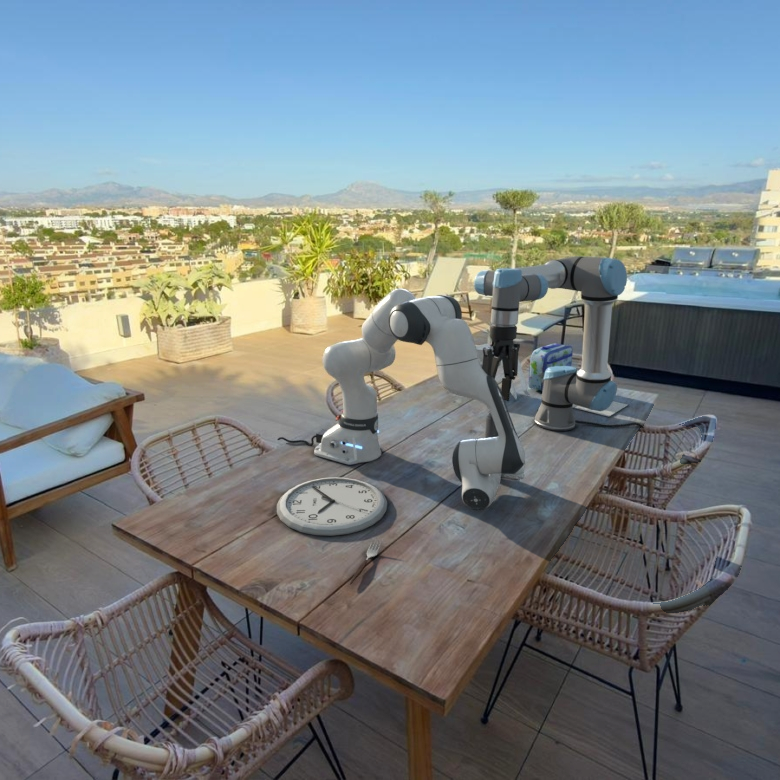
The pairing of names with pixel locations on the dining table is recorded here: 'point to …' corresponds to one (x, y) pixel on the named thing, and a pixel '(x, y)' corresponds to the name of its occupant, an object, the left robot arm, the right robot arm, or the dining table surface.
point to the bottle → (490, 427)
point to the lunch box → (547, 362)
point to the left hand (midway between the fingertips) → (493, 455)
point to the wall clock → (331, 506)
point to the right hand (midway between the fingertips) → (497, 401)
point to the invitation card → (609, 411)
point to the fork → (370, 554)
